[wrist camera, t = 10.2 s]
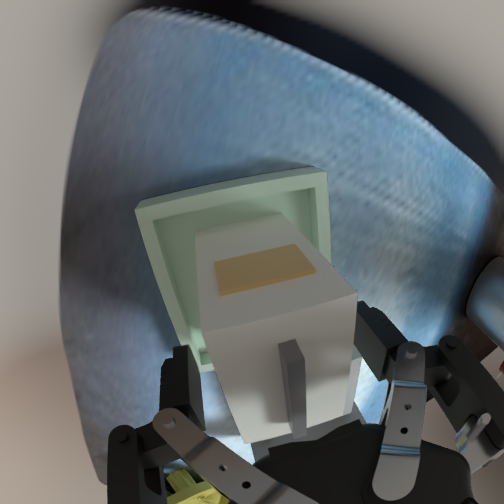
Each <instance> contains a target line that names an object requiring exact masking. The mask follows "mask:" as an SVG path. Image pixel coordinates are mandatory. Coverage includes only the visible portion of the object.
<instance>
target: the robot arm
mask: <svg viewBox="0 0 504 504" xmlns="http://www.w3.org/2000/svg"><path fill="white" fill-rule="evenodd" d="M466 315H467V317H468V318H469V319H470V320H471V321H472V322H473V323H474V324H475V325H477V326H478V327H479V328H480V329H481V330H482V331H483V332H484V333H485V334H486V335H487V336H488V337H489V338H490V339H491V340H492V341H493V342H495V343H496V344H497V345H498V346H499V347H500V348H501V349H502V350H503V351H504V258H502V257H497V258H494V259H493V260H492V261H491V262H490V263H489V264H488V265H487V266H486V267H485V268H484V270H483V271H482V272H481V274H480V276H479V277H478V279H477V281H476V283H475V284H474V286H473V289H472V291H471V293H470V296H469V299H468V302H467V306H466ZM353 344H354V345H355V347H356V348H357V350H358V351H359V353H360V354H361V356H362V357H363V359H364V360H365V362H366V363H367V365H368V366H369V368H370V369H371V371H372V372H373V374H374V375H375V377H376V378H377V380H378V381H379V382H380V381H382V380H384V379H387V381H388V386H387V391H386V396H385V401H384V406H383V411H382V415H381V419H380V422H379V424H371V423H368V424H362V423H361V421H360V420H359V419H358V420H355V421H353V422H350V423H347V424H345V425H342V426H339V427H337V428H336V429H334V430H333V431H331V432H329V433H328V434H326V435H324V436H323V437H321V438H319V439H317V440H311V441H299V442H290V443H286V444H282V445H278V446H274V447H270V448H268V451H269V454H267V455H265V456H263V457H262V458H260V459H259V460H257V461H256V462H255V463H254V464H253V465H251V464H250V463H248V462H247V461H246V460H244V459H243V458H241V457H240V456H239V455H237V454H236V453H235V452H233V451H232V450H230V449H229V448H228V447H226V446H225V445H224V444H223V443H221V442H220V441H219V440H217V439H216V438H214V437H210V436H208V435H207V434H206V433H205V432H203V431H206V429H205V420H204V411H203V401H202V390H201V379H200V372H199V368H198V365H197V363H196V360H195V358H194V355H193V353H192V350H191V348H190V346H189V344H187V345H182V346H176V347H174V348H173V358H169V359H165V361H164V363H163V365H162V367H161V380H160V383H161V385H160V404H159V412H158V413H157V414H156V415H155V416H154V418H153V421H152V422H150V423H149V424H146V425H144V426H141V427H139V428H136V429H134V428H133V427H131V426H129V425H120V426H117V427H116V428H114V429H113V430H112V431H111V433H110V435H109V439H108V463H107V494H108V495H107V496H108V497H107V498H108V504H168V503H167V496H166V489H165V480H164V472H163V465H165V464H167V463H170V462H172V461H175V460H177V459H181V460H183V461H184V462H185V463H186V464H187V465H188V466H189V467H190V468H191V469H192V470H193V471H194V472H195V473H197V474H198V475H199V476H200V477H201V478H202V479H203V480H205V481H206V482H207V483H208V484H209V485H210V486H211V487H212V488H214V489H215V490H216V491H217V492H218V493H220V494H221V495H222V496H223V497H225V498H226V499H227V500H229V503H228V504H478V503H477V502H476V501H475V499H474V497H473V494H472V489H471V474H472V473H473V472H475V471H476V470H477V469H479V468H480V467H485V466H488V465H489V464H491V463H492V462H493V461H494V460H495V459H496V458H498V457H499V456H500V455H501V454H502V453H503V452H504V391H503V390H502V389H501V387H500V386H499V385H498V384H497V382H496V381H495V380H494V379H493V378H492V376H491V375H490V374H489V372H488V371H487V370H486V369H485V368H484V366H483V365H482V364H481V363H480V362H479V360H478V359H477V358H476V357H475V356H474V354H473V353H472V352H471V351H470V350H469V349H468V348H467V346H466V345H465V344H464V343H463V342H462V341H461V340H460V339H459V338H458V337H456V336H452V335H447V336H444V337H442V338H441V339H440V341H439V343H438V345H434V346H428V347H423V346H422V345H421V344H419V343H417V342H414V341H408V340H407V339H406V338H405V337H404V336H403V334H402V333H401V332H400V331H399V330H398V329H397V328H396V326H395V325H394V324H392V322H391V321H390V320H389V319H388V317H387V316H386V315H385V314H384V313H383V312H382V311H380V310H378V309H377V308H375V307H372V308H369V306H368V305H367V304H366V303H365V302H364V301H359V302H357V310H356V322H355V333H354V342H353ZM427 387H428V389H429V390H430V392H431V393H432V395H433V396H434V398H435V399H436V401H437V402H438V404H439V405H440V407H441V408H442V410H443V411H444V413H445V415H446V416H447V418H448V419H449V421H450V423H451V424H452V426H453V427H454V429H455V431H456V432H457V435H456V439H455V443H456V450H457V451H458V452H457V451H454V450H451V449H448V448H445V447H442V446H439V445H436V444H433V443H430V442H427V441H424V440H421V437H422V430H423V423H424V414H425V404H426V392H427Z"/></svg>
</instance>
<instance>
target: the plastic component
mask: <svg viewBox="0 0 504 504" xmlns="http://www.w3.org/2000/svg"><path fill="white" fill-rule="evenodd" d="M166 479H167V480H168V482H169V483H170V485H171V486H172V488H173V489H174V491H175V492H176V493H175V494H172V493H171V492H169V491H168V490H166V496H167V503H168V504H228V503H229V500H227V499H226V498H225V497H223V496H222V495H221V494H220V493H218V492H217V491H216V490H215V489H214V488H212V487H211V486H210V485H209V484H208V483H207V482H206V481H203V482H200V483H196V482H195V481H194V479H193V478H192V477H191V475H190V474H189V473H188V472H187V471H186V470H185V469H183V470H177V471H175V472H173V473H170V474H169V476H168V477H167V478H166Z"/></svg>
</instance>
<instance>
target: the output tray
mask: <svg viewBox="0 0 504 504" xmlns="http://www.w3.org/2000/svg"><path fill="white" fill-rule="evenodd" d="M277 213H282V214H283V215H284V216H285V217H286V218H287V219H288V220H289V221H290V222H291V223H292V224H293V225H294V226H295V227H296V228H297V229H298V230H299V231H300V232H301V233H302V234H303V235H304V236H305V237H306V238H307V239H308V240H309V241H310V242H311V243H312V245H313V246H314V247H315V248H316V249H317V250H318V251H319V252H320V253H321V254H322V255H323V256H324V257H325V258H326V259H327V260H328V261H329V262H330V263H331V234H330V212H329V195H328V181H327V171H324V170H322V169H319V168H316V167H314V166H311V167H304V168H297V169H291V170H284V171H278V172H272V173H266V174H261V175H255V176H249V177H244V178H239V179H234V180H228V181H223V182H219V183H214V184H209V185H204V186H200V187H195V188H191V189H186V190H182V191H178V192H173V193H169V194H165V195H161V196H157V197H153V198H149V199H145V200H141V201H140V202H139V204H138V205H137V207H136V208H135V214H136V218H137V221H138V225H139V228H140V231H141V235H142V238H143V241H144V244H145V248H146V251H147V254H148V257H149V260H150V263H151V266H152V269H153V272H154V275H155V278H156V281H157V284H158V286H159V289H160V292H161V295H162V298H163V300H164V303H165V306H166V308H167V311H168V314H169V316H170V319H171V321H172V324H173V326H174V329H175V331H176V334H177V336H178V339H179V341H180V344H181V346H182V345H187V344H189V346H190V348H191V350H192V353H193V355H194V358H195V360H196V363H197V365H198V368H199V372H200V373H203V372H208V371H213V370H214V367H213V364H212V362H211V359H210V356H209V353H208V351H207V348H206V345H205V342H204V339H203V336H202V334H201V323H200V311H199V298H198V284H197V268H196V250H195V231H198V230H202V229H207V228H211V227H216V226H220V225H225V224H229V223H234V222H239V221H243V220H248V219H253V218H258V217H263V216H267V215H272V214H277Z"/></svg>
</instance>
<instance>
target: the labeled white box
mask: <svg viewBox="0 0 504 504" xmlns="http://www.w3.org/2000/svg"><path fill="white" fill-rule="evenodd" d="M195 250H196V268H197V284H198V298H199V311H200V323H201V334H202V336H203V339H204V342H205V345H206V348H207V351H208V353H209V356H210V359H211V362H212V364H213V367H214V370H215V372H216V375H217V378H218V380H219V383H220V386H221V388H222V391H223V393H224V396H225V398H226V401H227V403H228V406H229V408H230V411H231V413H232V416H233V418H234V420H235V423H236V425H237V427H238V430H239V432H240V434H241V437H242V439H243V441H244V444H248V443H253V442H257V441H262V440H266V439H270V438H274V437H277V436H281V435H285V434H288V433H292V435H293V438H294V439H297V438H300V437H303V436H306V435H307V428H308V427H311V426H315V425H318V424H321V423H323V422H326V421H329V420H332V419H335V418H337V417H340V416H343V411H344V406H345V400H346V394H347V388H348V381H349V374H350V367H351V359H352V351H353V342H354V333H355V322H356V310H357V296H358V292H357V291H356V290H355V289H354V288H353V287H352V286H351V285H350V284H349V283H348V282H347V281H346V279H345V278H344V277H343V276H342V275H341V274H340V273H339V272H338V271H337V270H336V269H335V268H334V267H333V266H332V264H331V263H330V262H329V261H328V260H327V259H326V258H325V257H324V256H323V255H322V254H321V253H320V252H319V251H318V250H317V249H316V248H315V247H314V246H313V245H312V243H311V242H310V241H309V240H308V239H307V238H306V237H305V236H304V235H303V234H302V233H301V232H300V231H299V230H298V229H297V228H296V227H295V226H294V225H293V224H292V223H291V222H290V221H289V220H288V219H287V218H286V217H285V216H284V215H283V214H282V213H277V214H272V215H267V216H263V217H258V218H253V219H248V220H243V221H239V222H234V223H229V224H225V225H220V226H216V227H211V228H207V229H202V230H198V231H195Z"/></svg>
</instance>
